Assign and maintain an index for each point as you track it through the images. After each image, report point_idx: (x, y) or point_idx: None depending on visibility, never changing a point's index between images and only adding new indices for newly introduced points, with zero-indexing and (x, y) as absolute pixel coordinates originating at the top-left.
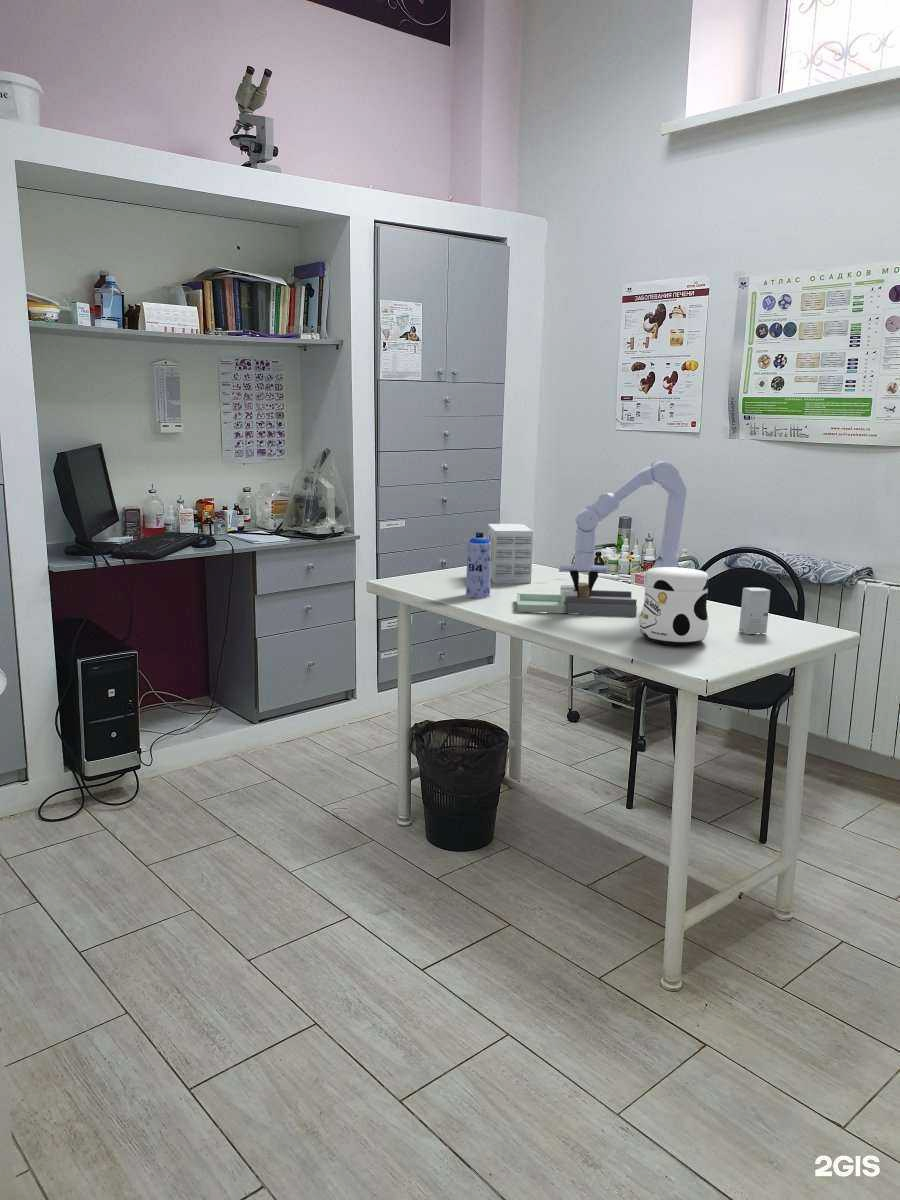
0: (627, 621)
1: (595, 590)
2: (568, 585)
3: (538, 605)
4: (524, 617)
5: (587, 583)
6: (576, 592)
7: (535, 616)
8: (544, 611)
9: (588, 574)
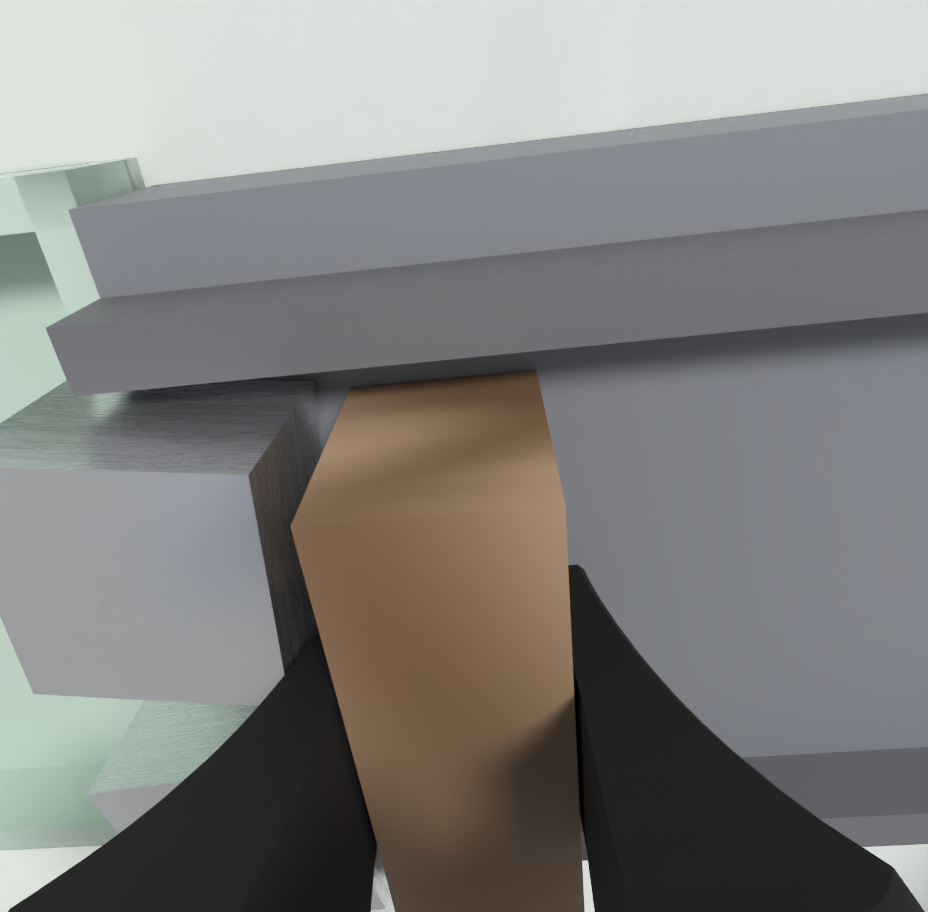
0: (881, 857)
1: (752, 287)
2: (115, 505)
3: (10, 845)
4: (11, 889)
5: (568, 599)
6: (376, 891)
7: (80, 853)
8: None
9: (623, 882)
